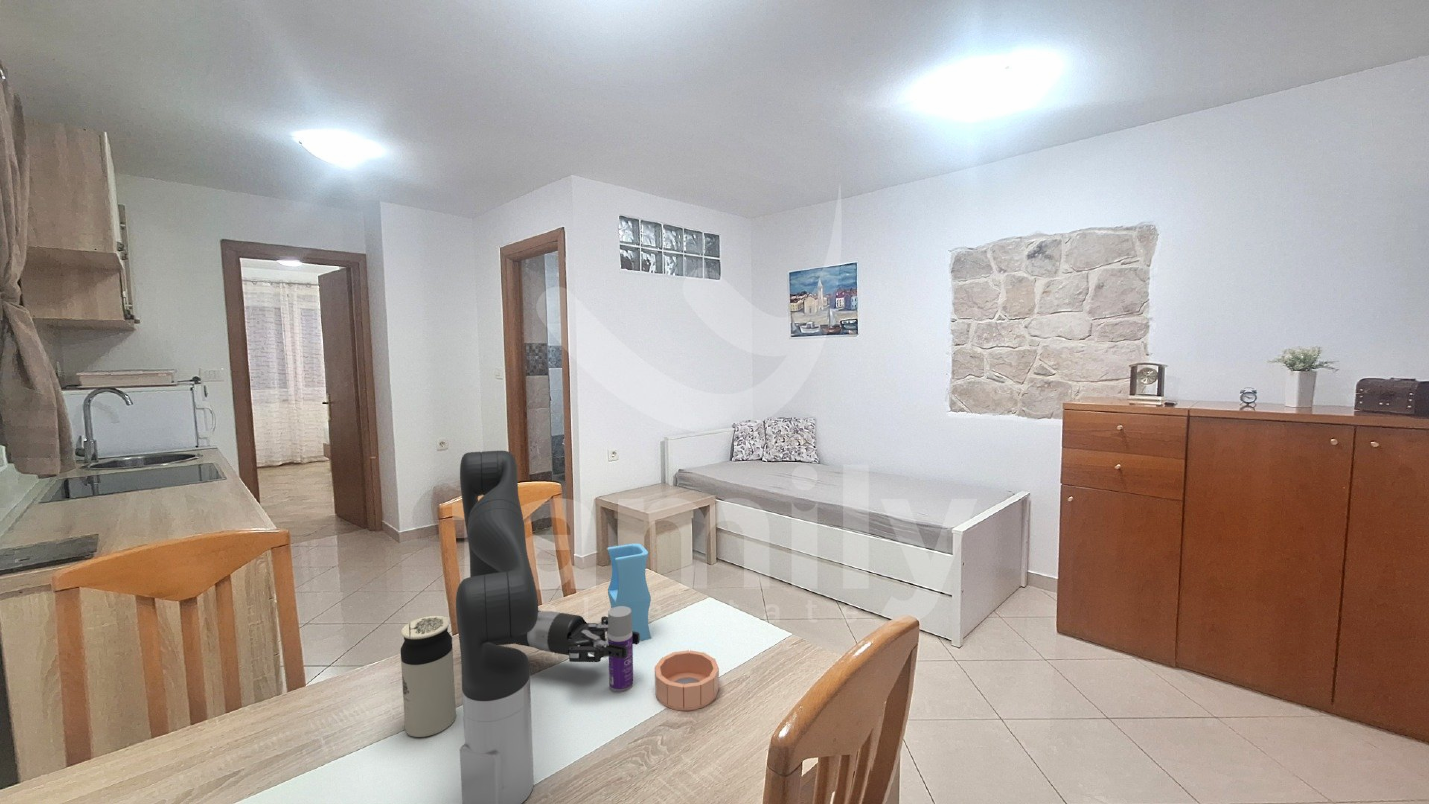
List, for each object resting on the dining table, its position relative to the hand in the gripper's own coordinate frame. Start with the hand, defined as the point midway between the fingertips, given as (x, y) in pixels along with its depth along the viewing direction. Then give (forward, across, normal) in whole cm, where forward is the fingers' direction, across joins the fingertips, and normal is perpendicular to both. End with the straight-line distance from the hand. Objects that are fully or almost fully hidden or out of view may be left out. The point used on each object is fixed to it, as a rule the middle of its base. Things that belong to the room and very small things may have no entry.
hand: (632, 645), depth 106 cm
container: (-3, 0, +9) cm, 9 cm away
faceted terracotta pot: (+10, +2, +8) cm, 14 cm away
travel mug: (-30, -20, +9) cm, 37 cm away
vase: (-10, +18, +9) cm, 22 cm away
